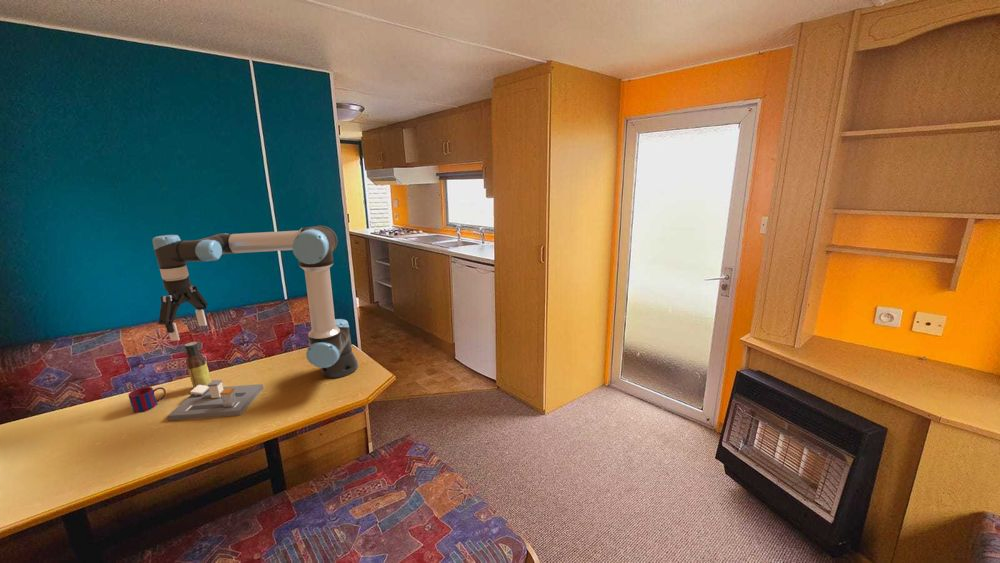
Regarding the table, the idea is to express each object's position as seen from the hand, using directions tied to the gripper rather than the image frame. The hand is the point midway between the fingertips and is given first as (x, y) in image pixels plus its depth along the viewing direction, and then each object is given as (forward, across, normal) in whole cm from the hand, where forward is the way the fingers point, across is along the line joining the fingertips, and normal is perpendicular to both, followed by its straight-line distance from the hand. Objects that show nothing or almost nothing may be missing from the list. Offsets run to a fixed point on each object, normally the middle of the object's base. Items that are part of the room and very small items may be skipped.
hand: (189, 332), depth 145 cm
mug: (+27, +7, -16) cm, 32 cm away
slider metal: (+25, +10, +17) cm, 31 cm away
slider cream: (+25, +4, +8) cm, 26 cm away
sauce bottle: (+27, -6, -5) cm, 28 cm away
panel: (+27, +6, +9) cm, 29 cm away
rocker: (+25, +2, -1) cm, 25 cm away
